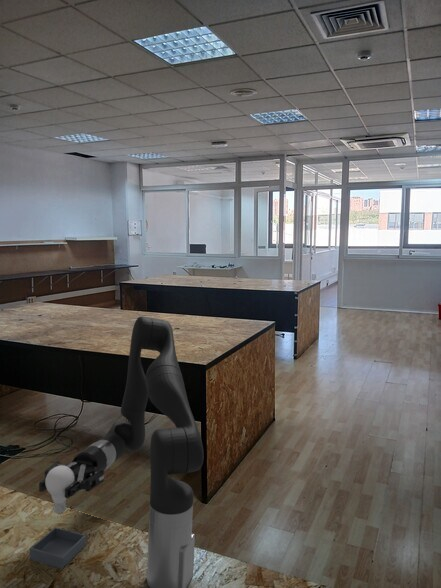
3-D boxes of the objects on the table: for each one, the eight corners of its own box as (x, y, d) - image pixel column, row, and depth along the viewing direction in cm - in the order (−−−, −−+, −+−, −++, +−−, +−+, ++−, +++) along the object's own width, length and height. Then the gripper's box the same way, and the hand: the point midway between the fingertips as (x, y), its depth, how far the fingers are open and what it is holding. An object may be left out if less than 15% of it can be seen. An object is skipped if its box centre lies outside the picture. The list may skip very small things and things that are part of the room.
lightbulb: (38, 515, 101) (39, 469, 100) (60, 502, 107) (61, 458, 106) (58, 524, 98) (59, 476, 98) (80, 510, 104) (80, 465, 103)
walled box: (86, 545, 106) (86, 535, 106) (62, 569, 98) (62, 557, 98) (54, 537, 109) (55, 526, 108) (29, 559, 100) (29, 548, 100)
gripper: (72, 440, 118) (26, 469, 102) (120, 450, 113) (81, 481, 97) (71, 468, 118) (26, 500, 102) (119, 478, 114) (80, 513, 98)
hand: (53, 490), depth 100 cm, fingers closed on lightbulb, 6 cm apart
